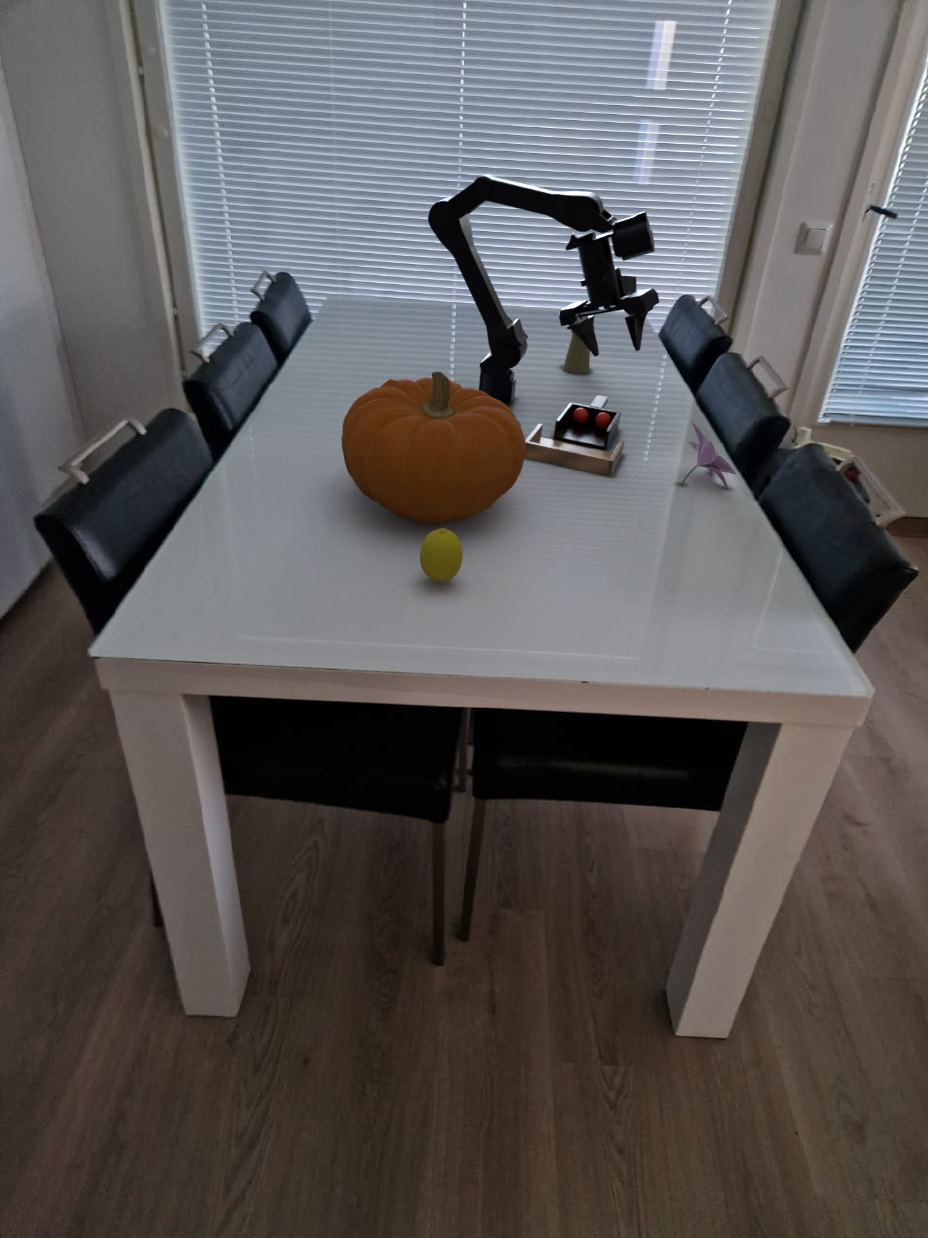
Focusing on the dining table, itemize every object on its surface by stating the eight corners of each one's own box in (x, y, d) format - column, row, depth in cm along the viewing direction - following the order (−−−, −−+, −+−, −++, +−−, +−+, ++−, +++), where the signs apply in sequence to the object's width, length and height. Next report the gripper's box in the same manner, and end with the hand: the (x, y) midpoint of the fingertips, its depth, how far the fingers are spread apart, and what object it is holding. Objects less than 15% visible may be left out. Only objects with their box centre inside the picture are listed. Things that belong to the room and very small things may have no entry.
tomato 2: (592, 427, 157) (595, 411, 156) (594, 426, 159) (598, 410, 158) (607, 430, 156) (611, 414, 155) (610, 429, 159) (613, 413, 158)
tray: (521, 456, 145) (523, 441, 144) (536, 437, 153) (538, 423, 152) (610, 476, 142) (613, 461, 140) (621, 455, 150) (624, 441, 148)
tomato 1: (569, 422, 158) (573, 406, 157) (572, 421, 160) (575, 406, 160) (585, 425, 157) (588, 409, 156) (587, 424, 160) (591, 409, 159)
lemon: (417, 570, 111) (420, 517, 107) (458, 572, 112) (463, 519, 107) (419, 593, 106) (422, 538, 102) (461, 594, 107) (466, 540, 103)
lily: (725, 510, 137) (759, 459, 134) (665, 474, 135) (699, 422, 133) (707, 500, 148) (739, 453, 146) (652, 466, 147) (683, 418, 144)
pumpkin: (361, 453, 141) (363, 334, 130) (522, 472, 140) (538, 354, 129) (320, 531, 118) (318, 394, 106) (513, 555, 117) (531, 419, 105)
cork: (588, 375, 187) (596, 325, 180) (561, 371, 187) (568, 321, 181) (590, 367, 192) (598, 318, 185) (564, 363, 192) (571, 315, 186)
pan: (575, 408, 167) (578, 391, 165) (624, 418, 165) (627, 400, 163) (553, 438, 153) (556, 419, 151) (606, 449, 151) (609, 430, 149)
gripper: (665, 245, 148) (681, 332, 155) (580, 264, 161) (598, 344, 168) (634, 263, 142) (652, 353, 149) (547, 282, 154) (568, 363, 161)
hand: (617, 353), depth 157 cm, fingers open, 9 cm apart
